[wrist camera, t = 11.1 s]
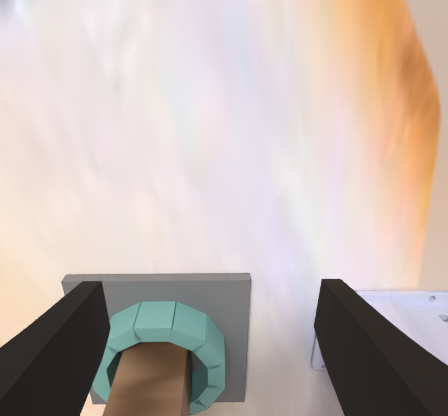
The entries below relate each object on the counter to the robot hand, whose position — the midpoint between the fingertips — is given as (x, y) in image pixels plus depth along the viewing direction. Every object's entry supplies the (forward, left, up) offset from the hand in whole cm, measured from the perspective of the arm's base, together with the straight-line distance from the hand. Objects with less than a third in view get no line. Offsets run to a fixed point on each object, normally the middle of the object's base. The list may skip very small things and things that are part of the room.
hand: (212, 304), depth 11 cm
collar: (+4, +13, -10) cm, 17 cm away
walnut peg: (+4, +13, -10) cm, 17 cm away
